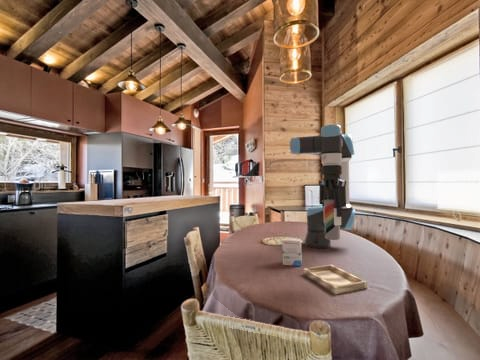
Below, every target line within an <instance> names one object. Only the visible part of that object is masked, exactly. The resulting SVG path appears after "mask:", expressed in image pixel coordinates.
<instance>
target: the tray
mask: <svg viewBox="0 0 480 360" xmlns="http://www.w3.org/2000/svg"><path fill="white" fill-rule="evenodd" d="M303 275H304V276H306V277H308V278H309V279H311V280H312V281H313V282H315V283H317V284H318V285H320V286H321V287H322V288H325V289H326V290H327V291H329V292H331V293H333V294H334V295H340V294H344V293H345V292H346V293H350V291H351V292H355V290H356V291H360V290H359V289H361V290H365V289H364V288H366V289H368V281H367V280H364V279H363V278H360V277H358V276H355V275H354V274H352V273H350V272H348V271H346V270H344V269H341V268H339V267H337V266H336V265H333V264H325V265H319V266H312V267H304V268H303Z"/></svg>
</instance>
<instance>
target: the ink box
mask: <svg viewBox="0 0 480 360" xmlns="http://www.w3.org/2000/svg"><path fill="white" fill-rule="evenodd" d="M281 247H282V249H281V250H282V265H284V266H295V267H296V266H297V267H302V263H303V261H302V255H303V254H302V240H301V238H288V237H287V238H286V237H284V238H283V239H282V240H281Z"/></svg>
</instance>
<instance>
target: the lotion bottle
mask: <svg viewBox="0 0 480 360" xmlns="http://www.w3.org/2000/svg"><path fill="white" fill-rule="evenodd" d="M326 193H327V200H324V226H325V238H326V239H329V240H330V241H338V240H340V239H341V229H340V225H336V226H335V225H334V207H335V202H334V198H333V193H332V191H331V188H327V189H326ZM338 205H339V204H338Z"/></svg>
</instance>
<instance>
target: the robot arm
mask: <svg viewBox="0 0 480 360" xmlns="http://www.w3.org/2000/svg"><path fill="white" fill-rule="evenodd" d="M289 151H290V153H291V154H293V155H301V154H302V155H303V154H305V155H306V154H308V155H312V156H318V157H321V159H320V160H321V164H322V165H321V167H320V168H321V175H322V176H323V179H321V180H318V185H319V186H318V187H319V190H318V191H319V193H318V194H319V197H318V199H319V200H318V201H319V205H317V206H310V207H308V208H307V210H306V224H307V225H306V226H307V228H306V229H307V231H306V236H305V238H304V245H305V246H306V247H309V248H313V249H325V248H327V249H328V248H330V247H332V240H329V239H326V238H325V226H324V200H327V193H326V189H327V188H331V191H332V193H333V198H334V202H335V207H334V225H335V226H336V225H340V230H352V229H354V223H355V215H356V209H355V208H353V205H352V204H351V203H350V163H349V162H350V161H351V159H352V156H354V155H355V150H354V143H353V137H352V135H351V134H345V133H343V134H342V127H341V125H339V124H327V125H324V126H323V125H322V127H321V128H320V135H308V136H297V137H292V138H291V139H290V141H289ZM338 204H339V205H338Z"/></svg>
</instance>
